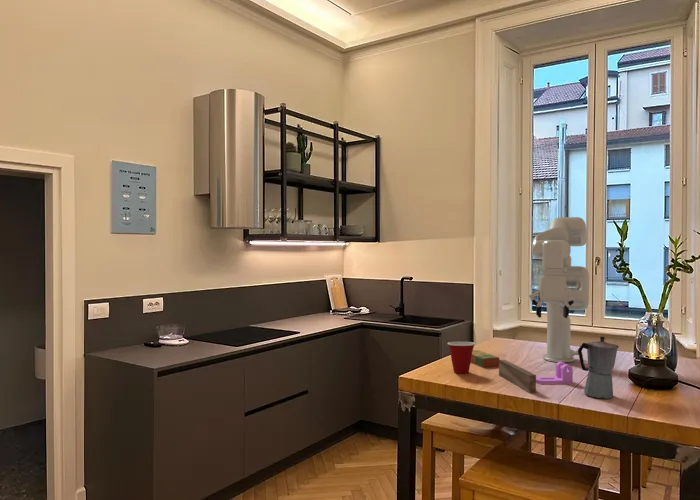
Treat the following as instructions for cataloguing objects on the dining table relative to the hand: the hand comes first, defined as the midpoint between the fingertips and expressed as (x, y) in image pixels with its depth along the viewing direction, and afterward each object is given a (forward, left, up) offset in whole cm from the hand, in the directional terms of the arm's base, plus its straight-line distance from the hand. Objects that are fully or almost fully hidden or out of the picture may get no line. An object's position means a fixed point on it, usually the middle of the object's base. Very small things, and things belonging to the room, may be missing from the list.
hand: (552, 317), depth 206 cm
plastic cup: (+32, -12, -23) cm, 41 cm away
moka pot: (-2, +26, -23) cm, 35 cm away
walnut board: (+18, +7, -23) cm, 30 cm away
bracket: (+4, +7, -23) cm, 25 cm away
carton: (+18, -26, -23) cm, 39 cm away
